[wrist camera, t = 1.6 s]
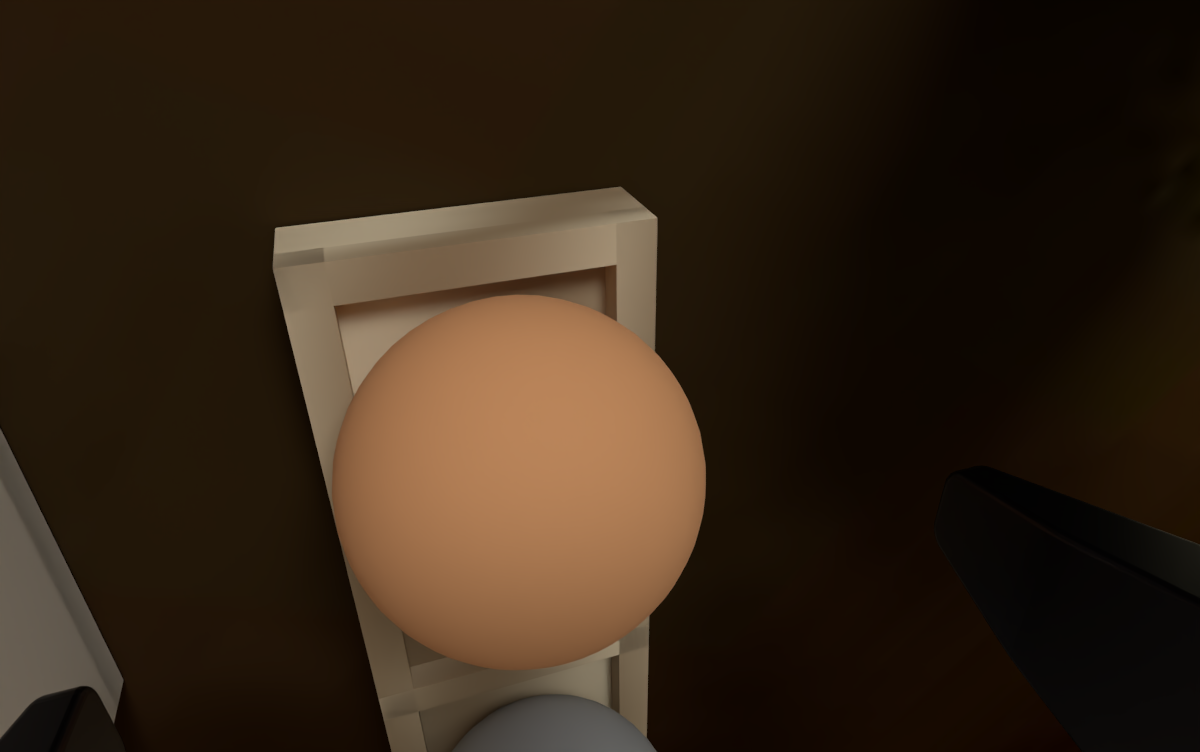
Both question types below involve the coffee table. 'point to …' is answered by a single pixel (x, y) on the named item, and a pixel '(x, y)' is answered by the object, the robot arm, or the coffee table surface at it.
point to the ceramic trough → (42, 610)
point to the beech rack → (401, 303)
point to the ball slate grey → (554, 728)
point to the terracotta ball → (518, 482)
